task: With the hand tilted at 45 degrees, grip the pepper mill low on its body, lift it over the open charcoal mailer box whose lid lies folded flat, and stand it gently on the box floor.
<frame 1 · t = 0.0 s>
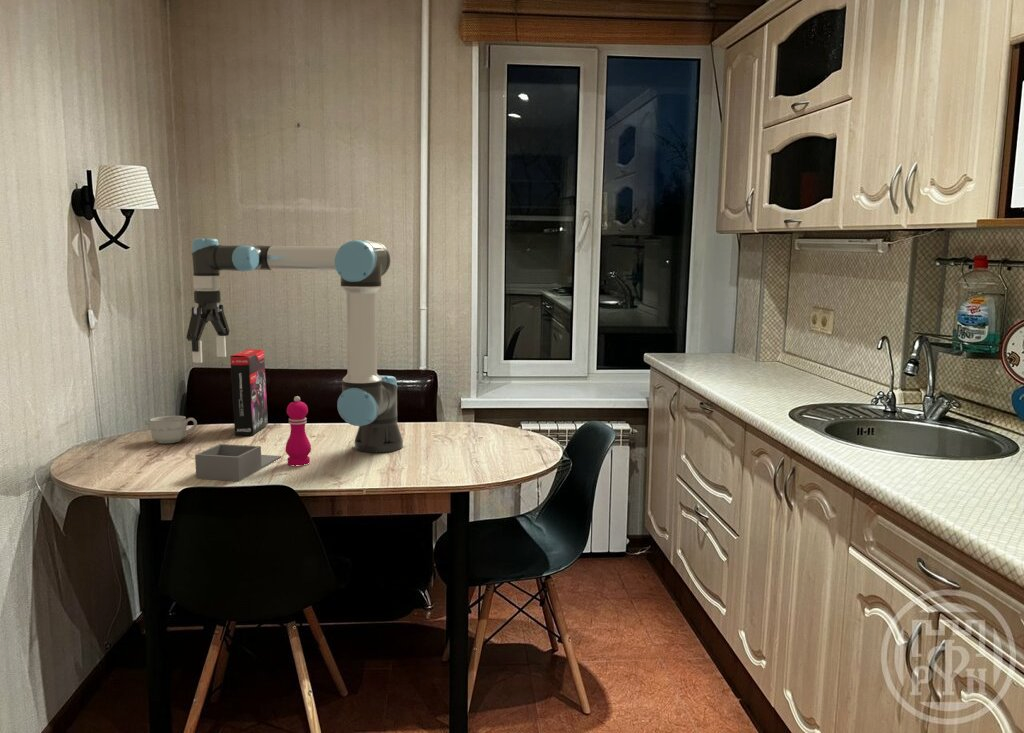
hand: (209, 359, 248), 28 cm above the table, tool pointing down, fingers open, 13 cm apart
graphics card box: (250, 431, 277), on the table
pepper mill: (298, 464, 236), on the table
mailer box: (229, 473, 225), on the table
teacup: (174, 442, 260), on the table
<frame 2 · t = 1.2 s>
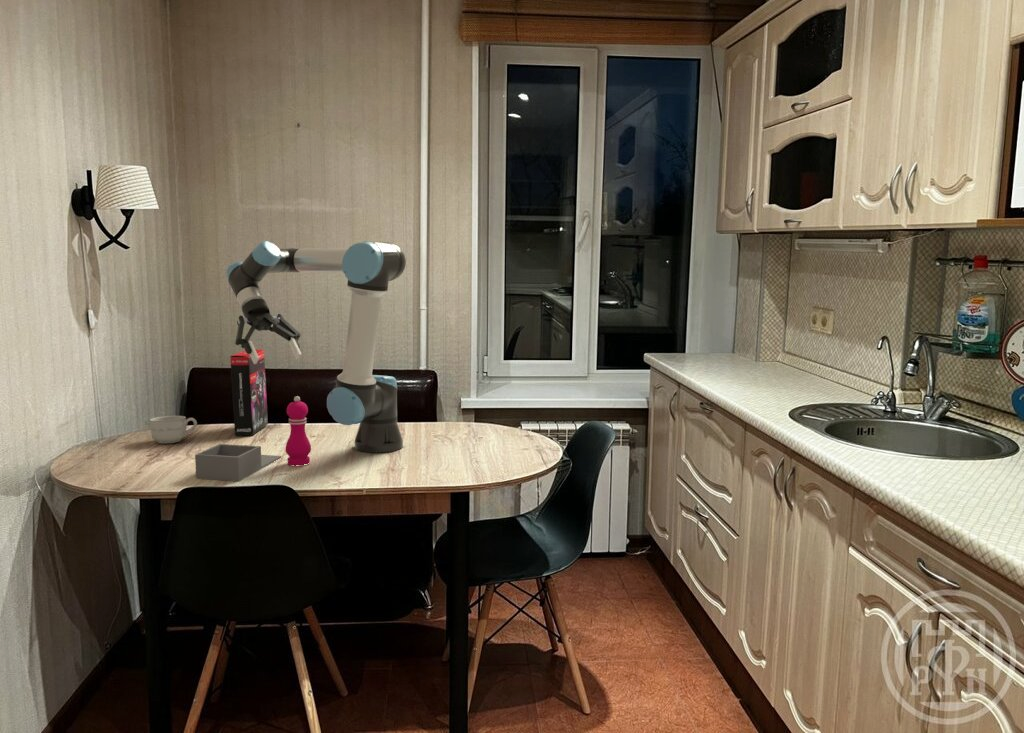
hand: (278, 359, 239), 30 cm above the table, tool tilted 45°, fingers open, 13 cm apart
nothing on the table moved.
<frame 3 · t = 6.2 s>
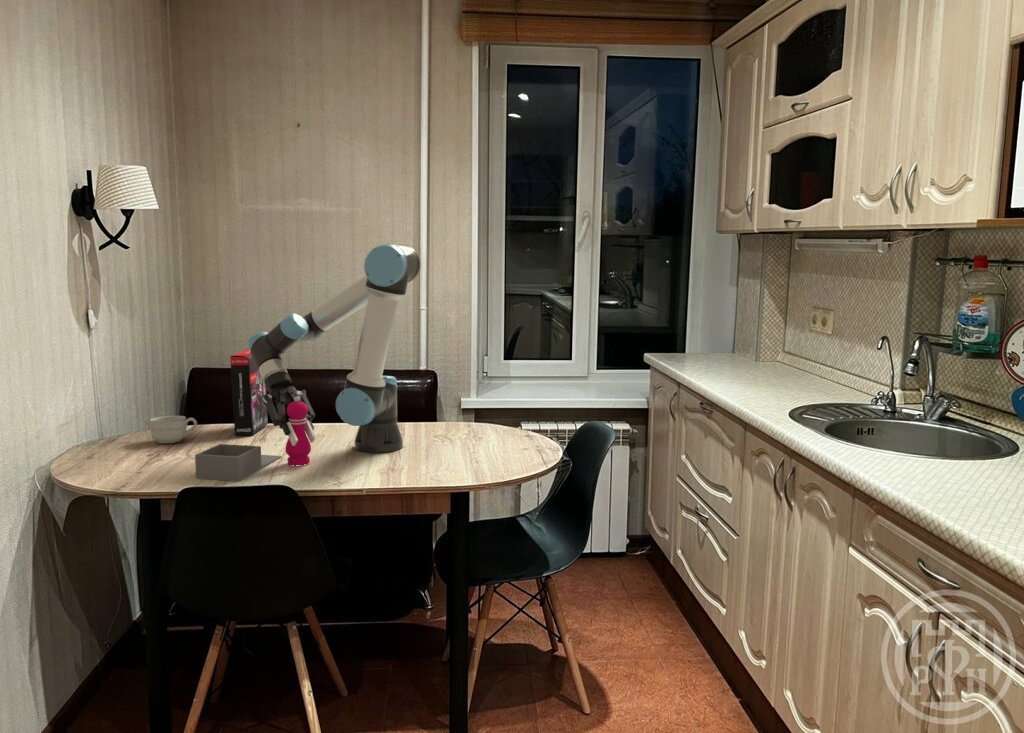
hand: (304, 441, 232), 7 cm above the table, tool tilted 45°, fingers closed on pepper mill, 5 cm apart
pepper mill: (298, 464, 236), on the table, touching gripper
everything else where it was.
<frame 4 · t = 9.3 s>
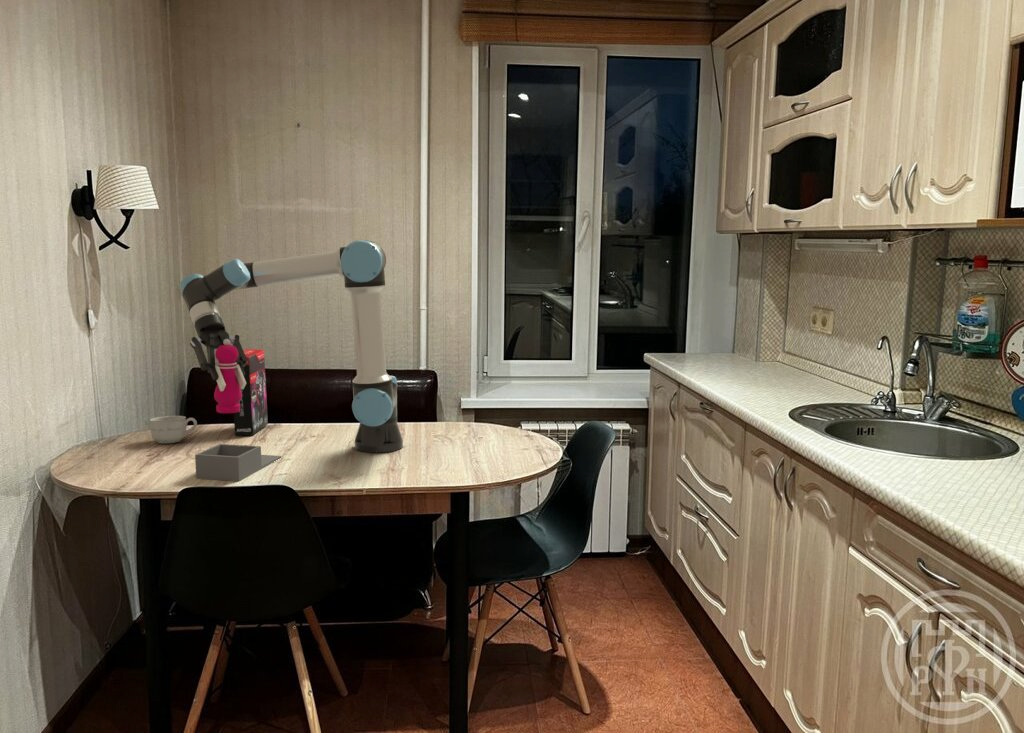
hand: (233, 387, 219), 25 cm above the table, tool tilted 45°, fingers closed on pepper mill, 5 cm apart
pepper mill: (228, 411, 223), point 17 cm above the table, touching gripper
everything else where it was.
when the fingers open (8 cm above the table, at t = 12.6 s): pepper mill stays where it is, resting on mailer box.
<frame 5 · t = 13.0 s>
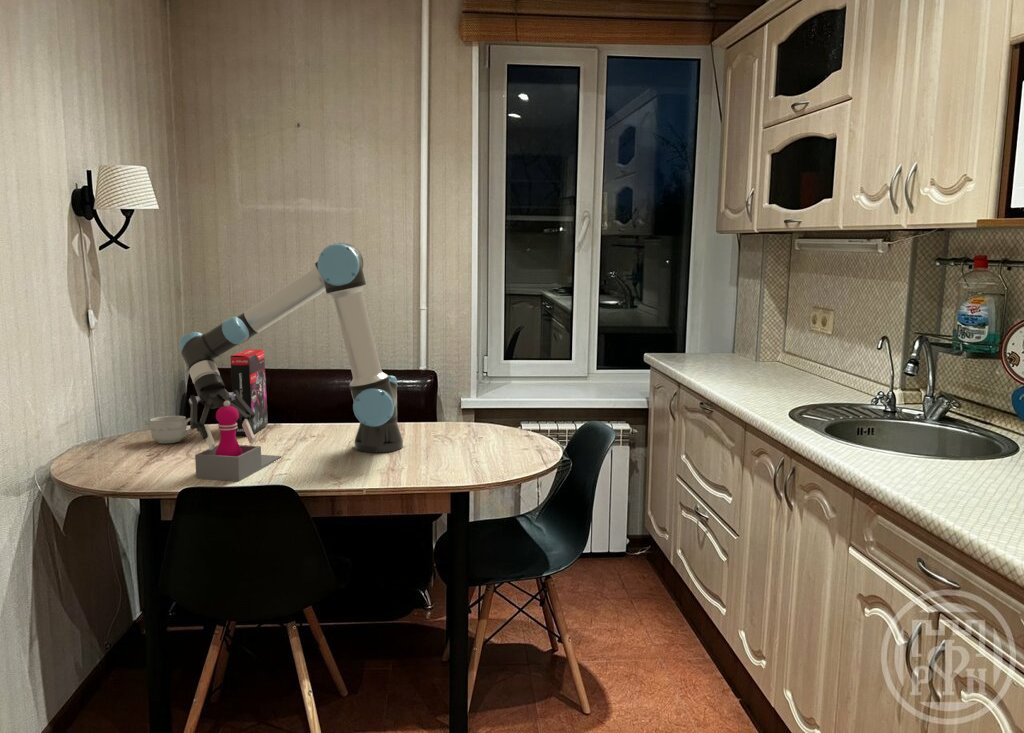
hand: (232, 443, 221), 9 cm above the table, tool tilted 45°, fingers open, 10 cm apart
pepper mill: (229, 472, 225), resting on mailer box
everything else where it was.
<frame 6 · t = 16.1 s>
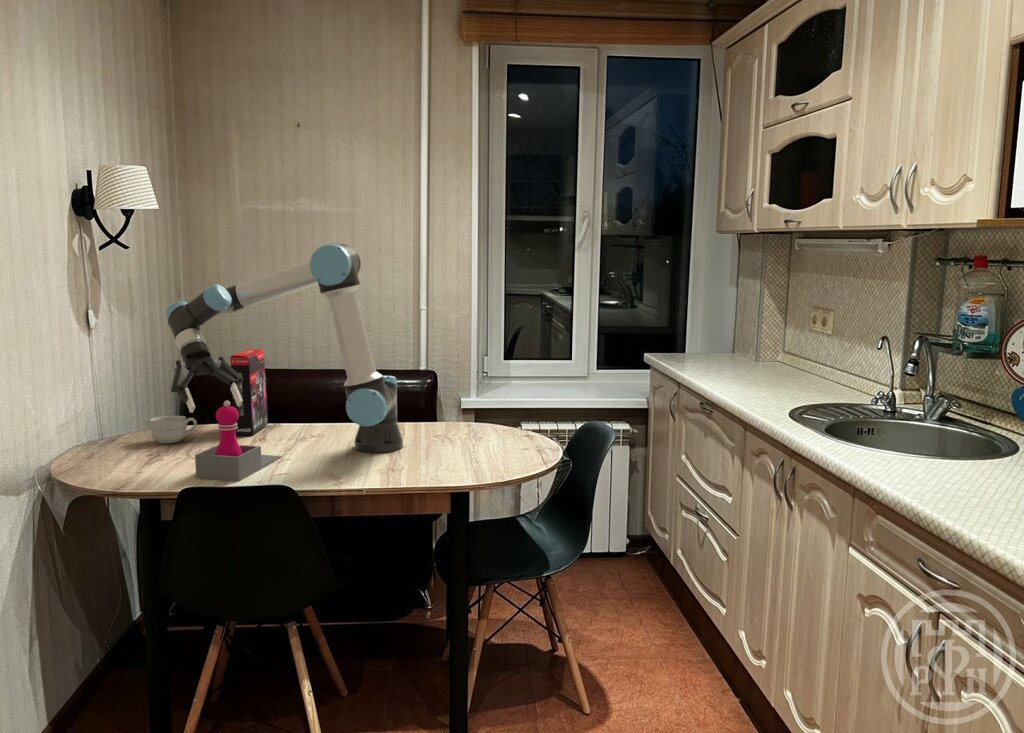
hand: (217, 406, 226), 18 cm above the table, tool tilted 45°, fingers open, 13 cm apart
nothing on the table moved.
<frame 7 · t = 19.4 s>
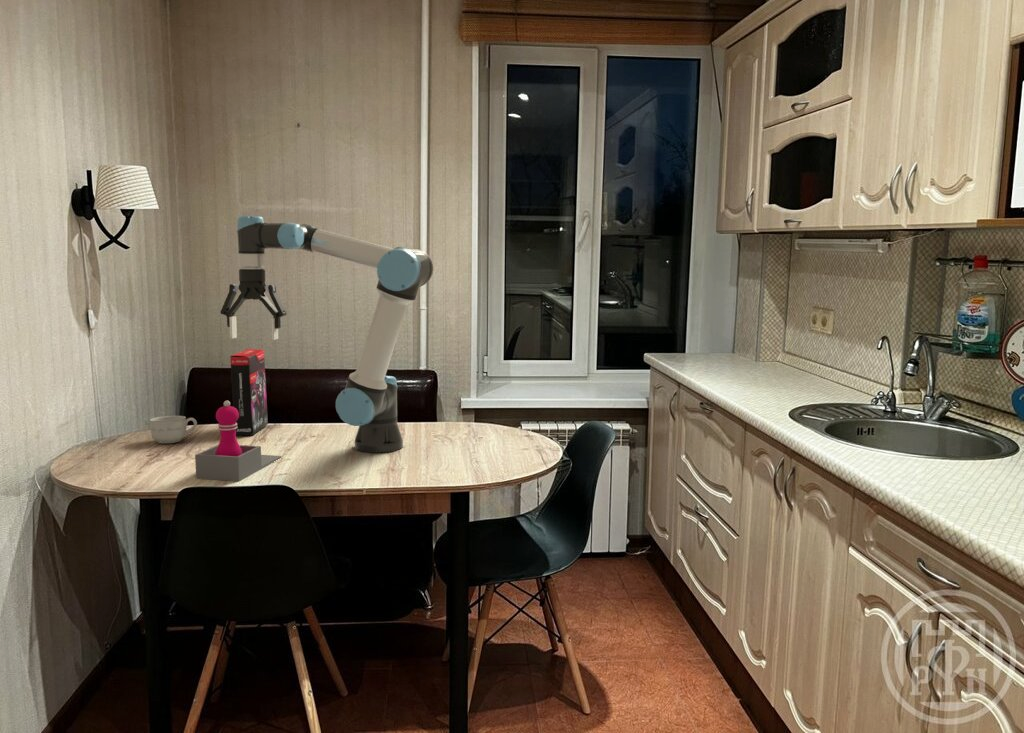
hand: (254, 338, 246), 35 cm above the table, tool pointing down, fingers open, 13 cm apart
nothing on the table moved.
at the end: pepper mill inside the target area on the mailer box (0.1 cm from its centre), point 0.4 cm above the mailer box's base; pepper mill tilted 0°; the gripper is holding nothing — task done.
